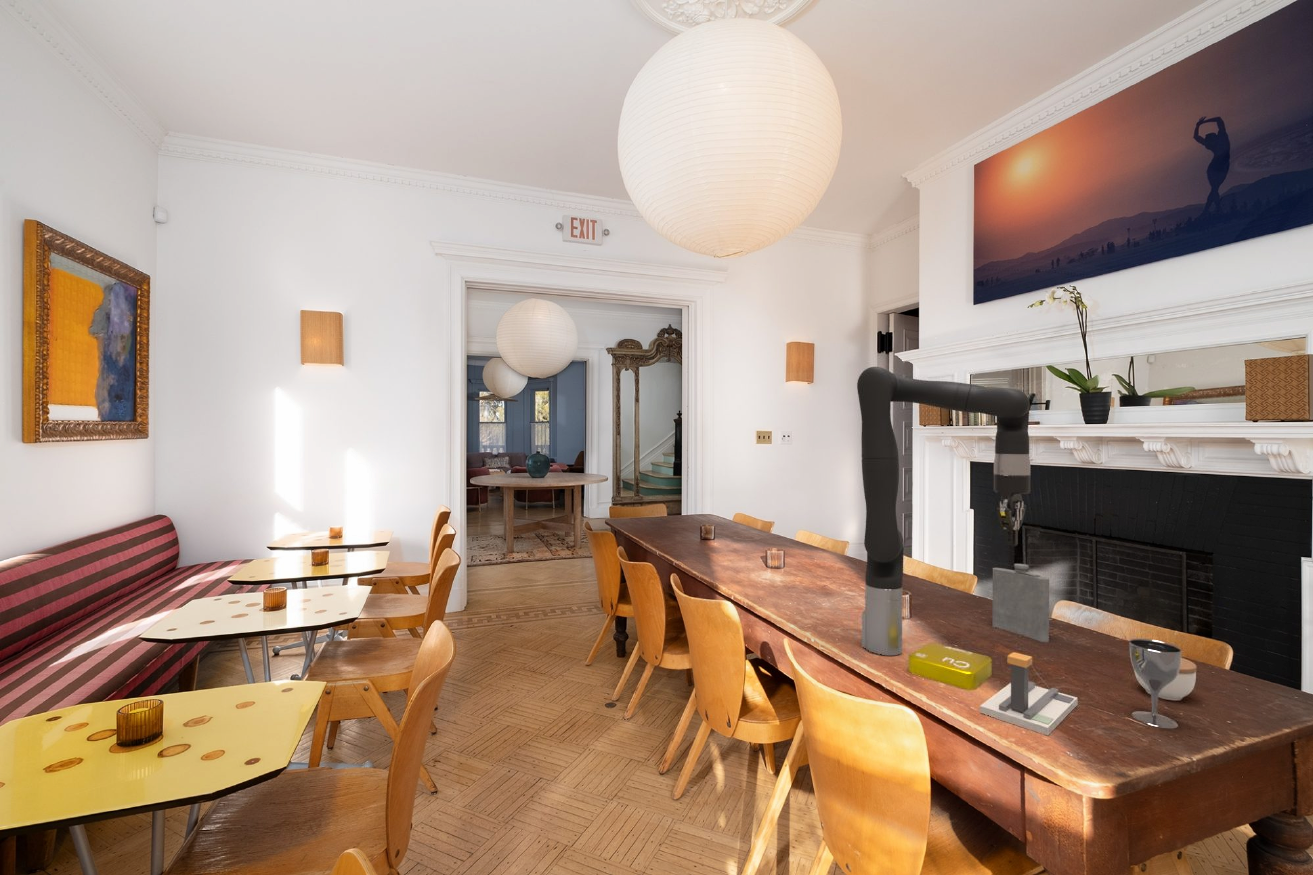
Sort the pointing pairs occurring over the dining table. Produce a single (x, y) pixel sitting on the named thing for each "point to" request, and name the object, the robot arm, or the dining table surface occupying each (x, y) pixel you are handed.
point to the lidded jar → (1176, 682)
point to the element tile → (951, 665)
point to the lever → (1019, 680)
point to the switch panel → (1031, 708)
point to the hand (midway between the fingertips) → (1011, 545)
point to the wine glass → (1155, 674)
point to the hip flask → (1021, 602)
